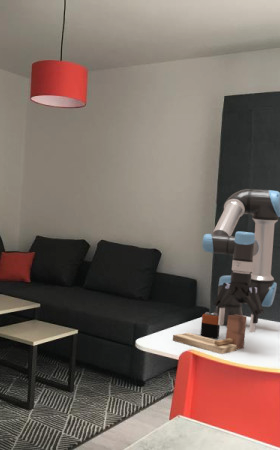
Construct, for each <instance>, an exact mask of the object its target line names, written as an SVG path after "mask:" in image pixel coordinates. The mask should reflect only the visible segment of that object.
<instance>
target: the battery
mask: <svg viewBox="0 0 280 450" xmlns="http://www.w3.org/2000/svg"><path fill="white" fill-rule="evenodd" d="M201 316H202V317H201V326H200V327H201V328H200V336H203V337H207V338H211V339H215V340H218V338H219V335H220V329H221V328H220V327H221V325H218V320H219V316H218V315H217V313H214V312H212V313H210V312H209V311H206V312H205V313H203V314H202V315H201Z"/></svg>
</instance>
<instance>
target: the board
mask: <svg viewBox="0 0 280 450" xmlns="http://www.w3.org/2000/svg"><path fill="white" fill-rule="evenodd" d="M218 340H219V339H213V338H207V337H203V336H201V335H199V334H194V333H191V332H186V333H177V334H173V336H172V341H174V342H178V343H181V344H184V345H187V346H191V347H196V348H199V349H203V350H206V351H210V352H214V353H217V354H221V355H223V354H227V353H232V352H236V351H237V350H236V347H237V345H234V344H230V343H227V344H222V345H215V341H218Z"/></svg>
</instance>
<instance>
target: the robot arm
mask: <svg viewBox="0 0 280 450" xmlns="http://www.w3.org/2000/svg"><path fill="white" fill-rule="evenodd" d="M243 215H252V217H251V218H252V220H253V222H254V223H255V224H254V226H255V227H254V232H247V231H236V232H235V234H234V236H233V233H234V231H235V228H236V226H237V224H238V222H239V220H240V217H241V218H242V216H243ZM279 218H280V192H279V191H278V190H271V189H254V188H253V189H251V188H245V189H241V190H238V191H237V192H234V193H233V194H231V195H230V196H229V197H228V198H227V199H226V201H225V202H224V204H223V212H222V214H221V215H220V217H219V219H218V221H217V224H216V226H215V227H214V229H213V231H212V233H205V234H204V235H203V237H202V243H201V244H202V250H203V252H206V253H211V254H221V255H229V256H232V264H231V274H230V275H222V276H220V277H219V281H218V288H217V289H218V290H217V297H216V298H215V300H214V302H213V305H214V306H216V307H215V309H214V312H213V313H217V315H218V316H219V320H218V325H220V326H225V327H227V321H228V315H236V314H237V315H241V316H244V315H243V310H242V308H243V307H242V304H243V305H244V304H245V305H248V307H249V309H250V311H251V312H252V313H251V314H250V323H249V330H248V331H249V333H255V332H256V324H258V323H259V315H263V314H264V312H265V311H264V308H263V307H267V308H270V307H271V306H272V305H273V302H274V300H275V297H276V296H275V295H276V291H277V287H278V286H277V285H278V283H277V282H275V279H274V276H272V262H273V249H274V248H273V246H274V237H275V236H274V235H275V234H274V233H275V224H276V223H277V222H278V221H279Z"/></svg>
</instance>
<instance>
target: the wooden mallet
mask: <svg viewBox="0 0 280 450" xmlns="http://www.w3.org/2000/svg"><path fill="white" fill-rule="evenodd" d="M246 326H247V316H246V315H243V316H241V315H237V314H236V315H228V321H227V326H226V333H225V338H224V339H223V338H222V339H217V340H218V341H215V345H222V344H227V343H230V344H234V345H237V347H236V351H237V350H241V349H244V347H245V339H246V338H245V337H246V336H245V335H246V328H247V327H246Z"/></svg>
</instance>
